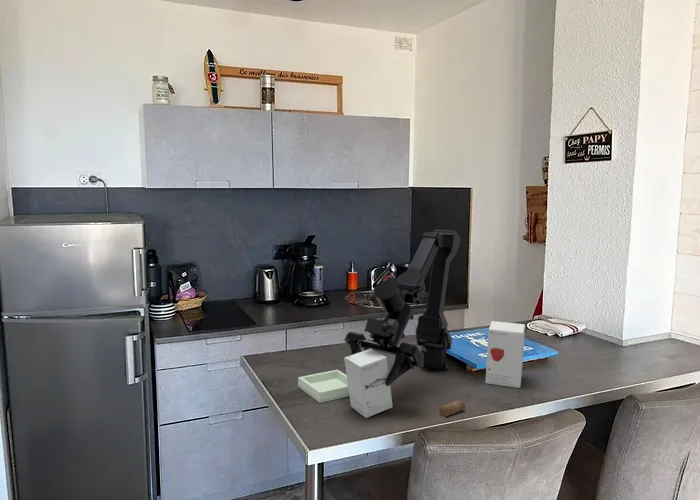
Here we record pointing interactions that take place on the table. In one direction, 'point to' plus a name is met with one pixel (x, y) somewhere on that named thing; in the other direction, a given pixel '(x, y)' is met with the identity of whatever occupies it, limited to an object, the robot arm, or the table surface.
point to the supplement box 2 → (505, 354)
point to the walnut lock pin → (452, 408)
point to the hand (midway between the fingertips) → (368, 380)
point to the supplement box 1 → (368, 382)
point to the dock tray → (325, 385)
